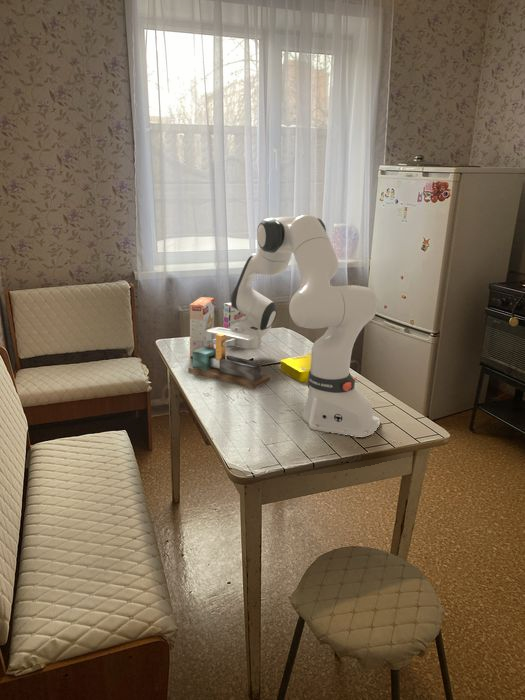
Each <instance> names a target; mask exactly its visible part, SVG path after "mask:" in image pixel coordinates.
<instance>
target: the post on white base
mask: <svg viewBox="0 0 525 700" xmlns="http://www.w3.org/2000/svg"><path fill="white" fill-rule="evenodd" d="M223 341H225V334H221V333H219V334H217V335H216V345H215V349H216V356H213V355H212V356H210V357H209V366H211V367H215V368H219V369H220V359H221V358H222V359H226V360H230V359H227V358H226V347H224V346H222V342H223ZM230 361H232V360H230Z"/></svg>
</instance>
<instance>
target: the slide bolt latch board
mask: <svg viewBox="0 0 525 700" xmlns="http://www.w3.org/2000/svg"><path fill="white" fill-rule="evenodd" d="M212 355H213V356H216V347H215V348H210V347H206V346H204V347H202V348H199V349H197V350H194V351H193V357H192V366H191V365H190V366H189V367H188V368H187V372H188V373H190V374H191V373H193V374H196V375H199V376H204V377H207V378H211V379H214V380H218V381H222V382H225V383H230V384H234V385H236V386H237V385H238V386H241V387H245V388H249V389H251V390H256V389H257V388H259V387H260V386H262V385H264V384H266V383H267V382H269V381H270V380H271V376H270V375H267V374H264V373H262V362H258V361H254V360H250V359H246V358H241V357H236V356H233V355H229V354H228V355H225V359H222V358H221V359H220V369H219V368H215V367H211V366H209V357H210V356H212ZM226 359H230V360H232V361H230V360H226Z"/></svg>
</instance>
